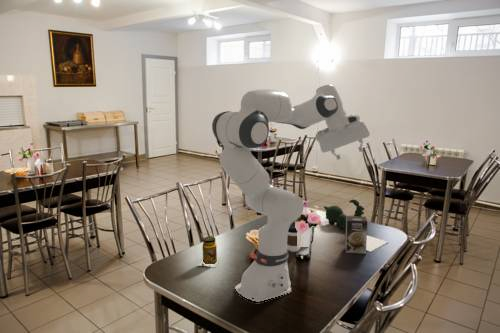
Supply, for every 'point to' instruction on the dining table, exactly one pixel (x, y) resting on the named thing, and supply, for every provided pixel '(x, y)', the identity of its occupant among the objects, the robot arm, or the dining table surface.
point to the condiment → (209, 250)
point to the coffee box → (356, 234)
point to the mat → (374, 243)
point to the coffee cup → (292, 238)
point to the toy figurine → (341, 214)
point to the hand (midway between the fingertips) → (350, 155)
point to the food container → (313, 232)
